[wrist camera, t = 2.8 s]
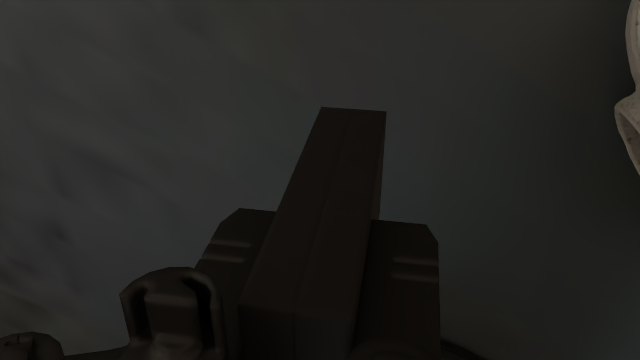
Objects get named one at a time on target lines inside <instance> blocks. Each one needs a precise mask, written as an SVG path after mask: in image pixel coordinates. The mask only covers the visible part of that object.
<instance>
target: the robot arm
mask: <svg viewBox="0 0 640 360" xmlns="http://www.w3.org/2000/svg"><path fill="white" fill-rule="evenodd" d="M385 126H386V112H385V111H371V110H357V109H342V108H328V107H321V109H320V111H319V113H318V116H317V118H316V121H315V123H314V125H313V128H312V130H311V132H310V135H309V137H308V139H307V142H306V144H305V146H304V149H303V151H302V153H301V156H300V158H299V160H298V163H297V165H296V167H295V170H294V172H293V174H292V177H291V179H290V181H289V184H288V186H287V188H286V191H285V193H284V196H283V198H282V200H281V203H280V205H279V207H278V210H277V212H274V211H264V210H254V209H243V208H239V209H238V210H237V211H235V212H234V213H233V214H231V215H230V216H229V217H227V218H226V219H225V220H223V221H222V222H221V223H220V224H219V226H218V228H217V230H216V232H215V233H214V235H213V237H212V239H211V242H210V244H208V246H207V247H206V249H205V251H204V253H203V254H202V259H200V260H199V262H198V263H197V265H196V267H195V269H194V268H190V267H168V268H164V269H160V270H157V271H153V272H149V273H147V274H145V275H143V276H142V277H140V278H138V279H136V280H134V281H132V282H131V283H130V284H129V285H128V286H127V287H126V288H125V289H124V290H123V291H122V292H121V293H120V294H119V296H120V300H121V304H122V308H123V312H124V316H125V321H126V325H127V329H128V333H129V337H130V342H129V344H128V345H127V346H124V347H121V348H116V349H112V350H107V351H99V352H91V353H84V354H76V355H68V356H64V353H63V350H62V347H61V344H60V342H58V341H57V340H55V339H54V338H53V337H51V336H50V335H48V334H42V333H37V332H26V333H18V334H11V335H9V336H6V337H3V338H0V360H481V359H479V358H478V357H476V356H474V355H472V354H470V353H468V352H466V351H464V350H462V349H460V348H457V347H455V346H452V345H450V344H447V343H444V342H441V341H440V304H439V267H438V264H439V259H438V242H437V240H436V239H435V237H434V236H433V234H432V233H431V231H430V230H429V228H428V227H427V225H425V224H414V223H404V222H394V221H384V220H378V219H379V212H380V198H381V183H382V169H383V155H384V140H385Z"/></svg>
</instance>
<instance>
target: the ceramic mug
mask: <svg viewBox="0 0 640 360" xmlns="http://www.w3.org/2000/svg"><path fill="white" fill-rule="evenodd" d="M625 38H626V48H627V55H628V60H629V65H630V70H631V74H632V77H633V79H634V81H635V84H636V91H635V92H634V93H633V94H632V95H630V96H628V97H625V98H624V99H622V100H621V101H619V102H618V103H617V104H616V105H615V107H614V108H615V112H614V114H615V119H616V124H617V127H618V131H619V133H620V135H621V137H622V138H623V141H624V143H625V145H626V148H627V151H628V154H629V156H630V158H631V160H632V162H633V164H634V166H635V168H636V170H637V171H638V173H639V175H640V0H631V3H630V7H629V10H628V14H627V20H626V30H625Z"/></svg>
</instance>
